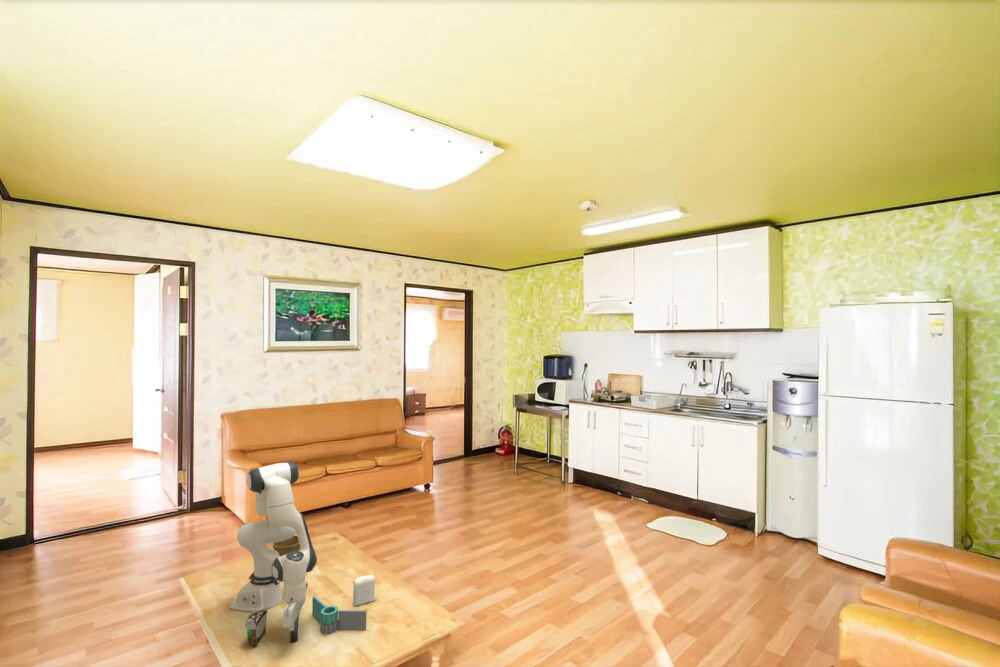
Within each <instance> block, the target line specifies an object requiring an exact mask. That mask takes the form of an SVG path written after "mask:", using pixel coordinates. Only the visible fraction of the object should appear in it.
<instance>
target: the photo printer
mask: <svg viewBox="0 0 1000 667" xmlns="http://www.w3.org/2000/svg"><path fill="white" fill-rule="evenodd" d="M375 584H376V579H375V575H373V574H367V575H361V576H359V577H357V578H355V579H354V581H353V591H352V593H353V596H352V597H353V598H352V605H353V606H354V607H356V606H360V605H364V604H367V603H372V602H373V601H375Z"/></svg>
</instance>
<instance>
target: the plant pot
mask: <svg viewBox="0 0 1000 667" xmlns="http://www.w3.org/2000/svg"><path fill="white" fill-rule="evenodd" d="M272 549H274V550H276V551H277V552H278V553H279V555H280V556H283V555H286V554H288V553H290V552H292V551H299V550H300V544H299V540H298V536H297V535H294V536H293V537H292V538H290V539H287V540H285V541H281V542H275V543H272Z"/></svg>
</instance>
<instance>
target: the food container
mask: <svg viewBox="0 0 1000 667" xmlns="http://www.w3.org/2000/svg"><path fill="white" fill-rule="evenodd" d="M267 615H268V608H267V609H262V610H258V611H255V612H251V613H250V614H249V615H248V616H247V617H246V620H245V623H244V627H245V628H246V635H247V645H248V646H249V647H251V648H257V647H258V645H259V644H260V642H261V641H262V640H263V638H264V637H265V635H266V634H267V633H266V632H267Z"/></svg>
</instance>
